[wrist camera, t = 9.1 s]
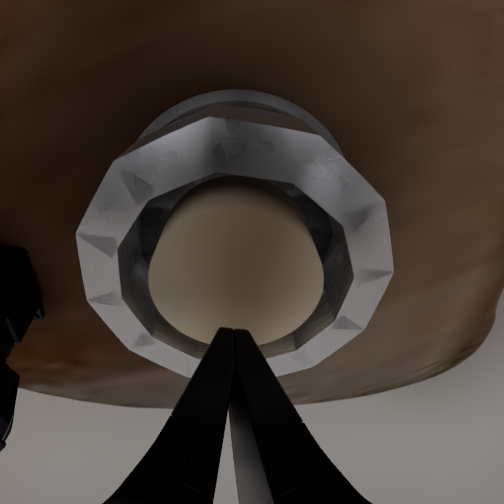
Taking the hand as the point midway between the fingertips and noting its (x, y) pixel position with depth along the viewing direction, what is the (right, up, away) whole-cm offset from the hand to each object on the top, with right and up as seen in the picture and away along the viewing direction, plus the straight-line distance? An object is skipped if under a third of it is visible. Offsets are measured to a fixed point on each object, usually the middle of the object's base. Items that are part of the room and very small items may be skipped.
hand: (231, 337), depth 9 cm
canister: (0, +5, +8) cm, 9 cm away
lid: (0, +3, +4) cm, 5 cm away
